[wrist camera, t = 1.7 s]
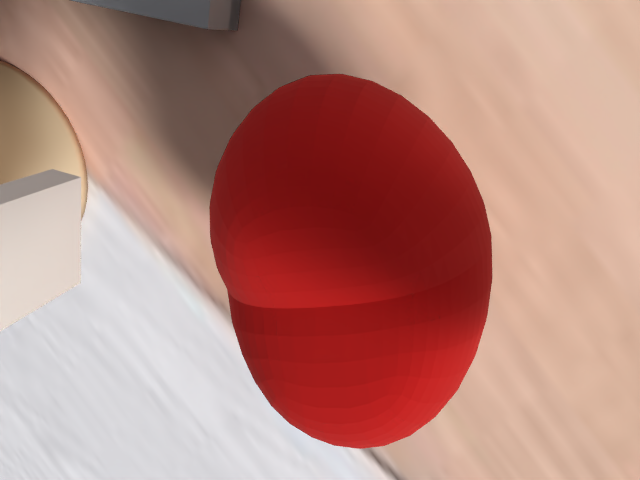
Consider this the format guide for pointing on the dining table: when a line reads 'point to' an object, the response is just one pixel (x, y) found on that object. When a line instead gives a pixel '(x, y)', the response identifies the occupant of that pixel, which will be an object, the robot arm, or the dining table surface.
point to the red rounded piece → (351, 258)
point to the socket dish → (181, 11)
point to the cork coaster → (35, 132)
